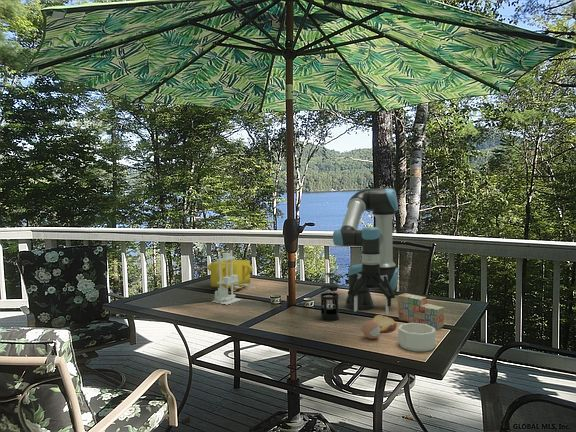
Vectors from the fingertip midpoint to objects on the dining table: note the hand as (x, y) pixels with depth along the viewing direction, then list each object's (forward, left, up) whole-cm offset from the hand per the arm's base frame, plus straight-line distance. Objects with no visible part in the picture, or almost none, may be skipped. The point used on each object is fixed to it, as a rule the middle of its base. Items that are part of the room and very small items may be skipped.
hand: (371, 312), depth 181 cm
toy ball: (0, 0, -12) cm, 12 cm away
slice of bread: (0, +19, -12) cm, 23 cm away
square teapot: (-110, +60, -12) cm, 126 cm away
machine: (-85, +28, -12) cm, 90 cm away
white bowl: (+19, -1, -12) cm, 22 cm away
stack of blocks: (+16, +30, -12) cm, 36 cm away
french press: (-26, +21, -12) cm, 36 cm away
